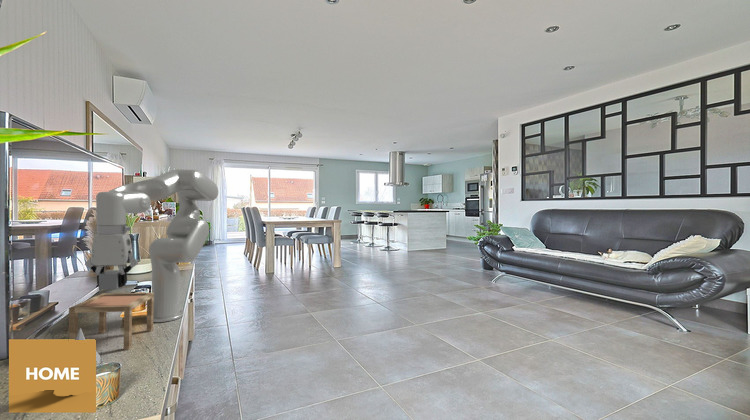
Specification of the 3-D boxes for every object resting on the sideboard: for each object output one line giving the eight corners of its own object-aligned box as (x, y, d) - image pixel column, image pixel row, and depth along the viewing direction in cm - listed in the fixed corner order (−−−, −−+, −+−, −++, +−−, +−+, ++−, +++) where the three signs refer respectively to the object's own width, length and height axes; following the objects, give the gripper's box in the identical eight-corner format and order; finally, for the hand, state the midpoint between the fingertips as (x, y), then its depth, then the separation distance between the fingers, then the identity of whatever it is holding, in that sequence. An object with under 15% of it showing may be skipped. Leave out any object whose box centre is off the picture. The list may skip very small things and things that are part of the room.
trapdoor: (104, 298, 118) (104, 295, 118) (145, 297, 121) (145, 295, 121) (82, 308, 107) (82, 305, 107) (127, 307, 109) (127, 304, 109)
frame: (101, 331, 120) (101, 293, 120) (153, 329, 123) (153, 292, 123) (68, 352, 104) (68, 308, 104) (129, 349, 107) (129, 306, 107)
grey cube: (107, 285, 113) (107, 270, 113) (125, 284, 114) (124, 270, 114) (98, 289, 108) (98, 273, 108) (116, 289, 109) (116, 273, 109)
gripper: (146, 229, 115) (146, 282, 116) (88, 228, 112) (89, 283, 113) (135, 231, 108) (136, 288, 109) (73, 231, 105) (74, 290, 106)
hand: (112, 285), depth 111 cm, fingers closed on grey cube, 5 cm apart
